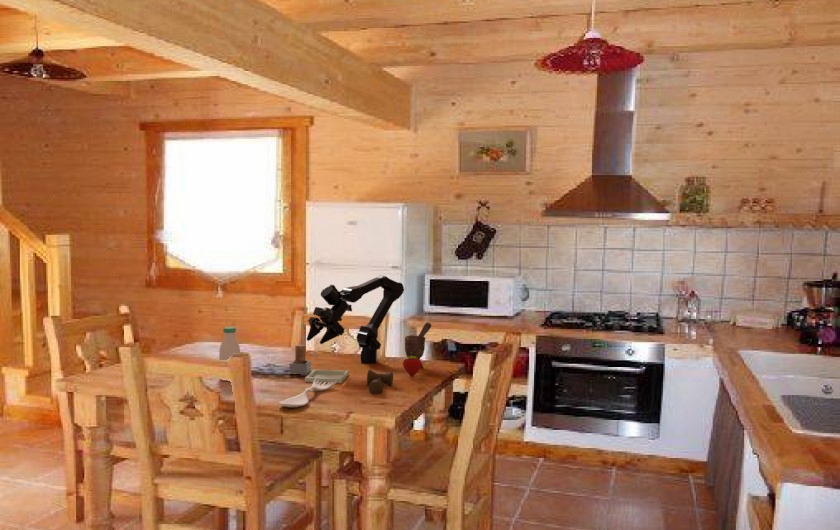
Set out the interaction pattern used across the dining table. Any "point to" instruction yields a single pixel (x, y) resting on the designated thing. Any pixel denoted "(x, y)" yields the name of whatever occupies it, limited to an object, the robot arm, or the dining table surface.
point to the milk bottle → (228, 344)
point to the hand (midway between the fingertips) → (313, 341)
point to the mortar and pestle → (416, 343)
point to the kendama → (378, 381)
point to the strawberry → (412, 365)
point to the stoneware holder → (300, 368)
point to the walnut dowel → (300, 354)
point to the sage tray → (327, 376)
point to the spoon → (302, 397)
